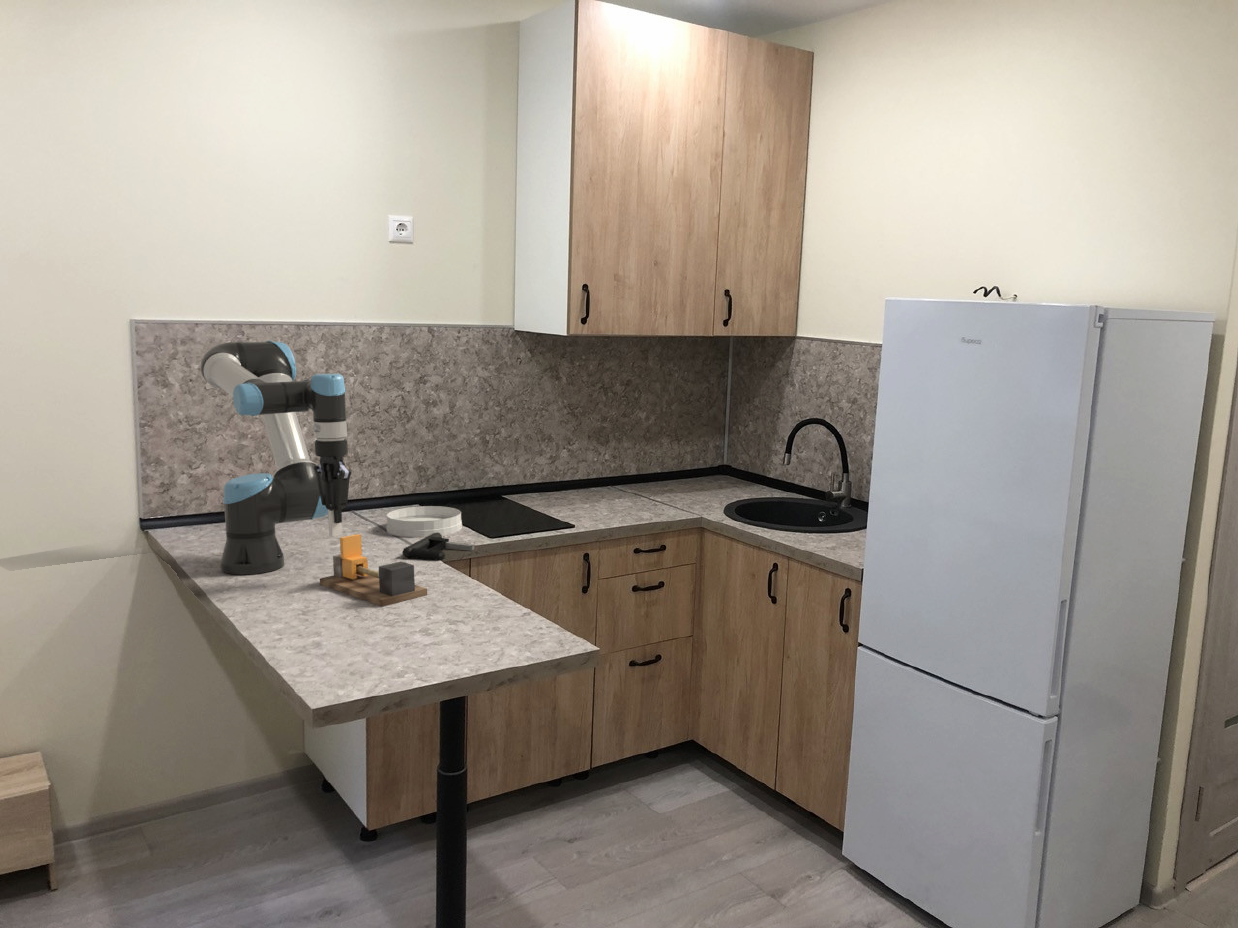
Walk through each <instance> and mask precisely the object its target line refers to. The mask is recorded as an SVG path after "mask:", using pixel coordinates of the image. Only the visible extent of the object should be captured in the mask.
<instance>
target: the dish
mask: <svg viewBox="0 0 1238 928" xmlns="http://www.w3.org/2000/svg"><path fill="white" fill-rule="evenodd" d="M462 521H463V520H462V511H461V510H460V509H457V508H455V507H448V506H442V505H441V506H440V505H437V506H435V505H423V506H422V505H421V506H410V507H409V506H408V507H404V508H398V509H395V510H392V511H390V512H388V513H386V526H385V527H386V532H387V534H389V535H392V536H395V537H404V538H425V537H427V536H429V535H431V534H433V533H437V532H438V533H440V534H441V535H442V536H447V535H452V534H454V533H458V532H459V531H461V530H462V527H463V522H462Z"/></svg>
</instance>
